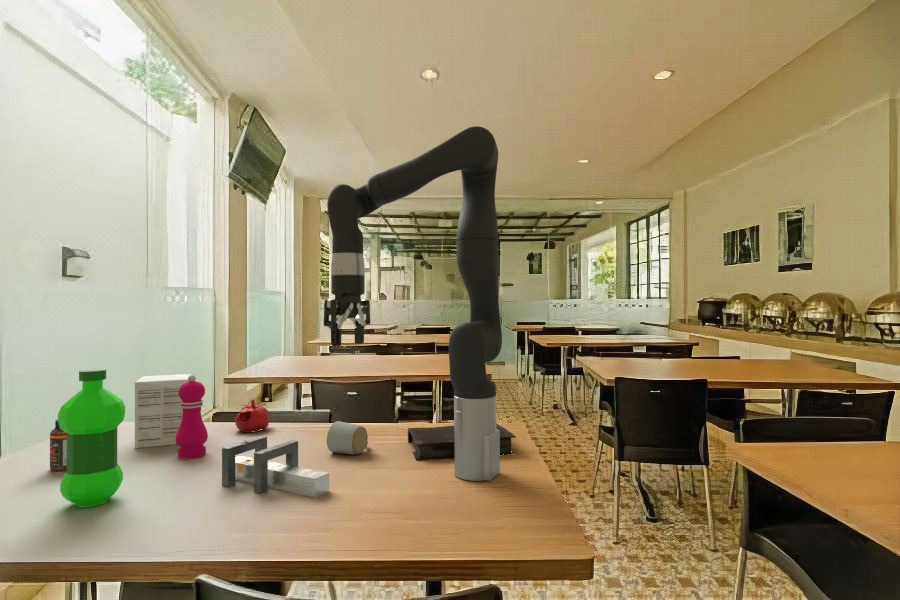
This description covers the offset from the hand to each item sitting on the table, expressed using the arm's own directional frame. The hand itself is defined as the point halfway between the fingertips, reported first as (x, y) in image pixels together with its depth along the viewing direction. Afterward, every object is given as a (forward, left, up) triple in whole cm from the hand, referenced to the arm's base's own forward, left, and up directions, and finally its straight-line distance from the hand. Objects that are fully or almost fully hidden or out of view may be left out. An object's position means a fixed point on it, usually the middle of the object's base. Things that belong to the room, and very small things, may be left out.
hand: (348, 344), depth 117 cm
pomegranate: (+49, -18, -28) cm, 59 cm away
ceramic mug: (+8, -11, -28) cm, 32 cm away
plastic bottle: (+32, +37, -28) cm, 57 cm away
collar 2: (+7, +15, -28) cm, 33 cm away
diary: (-16, -26, -29) cm, 42 cm away
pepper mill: (+42, +8, -28) cm, 51 cm away
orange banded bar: (+8, +15, -28) cm, 33 cm away
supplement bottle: (+60, +27, -28) cm, 72 cm away
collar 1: (+16, +15, -28) cm, 36 cm away
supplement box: (+62, +1, -28) cm, 68 cm away
